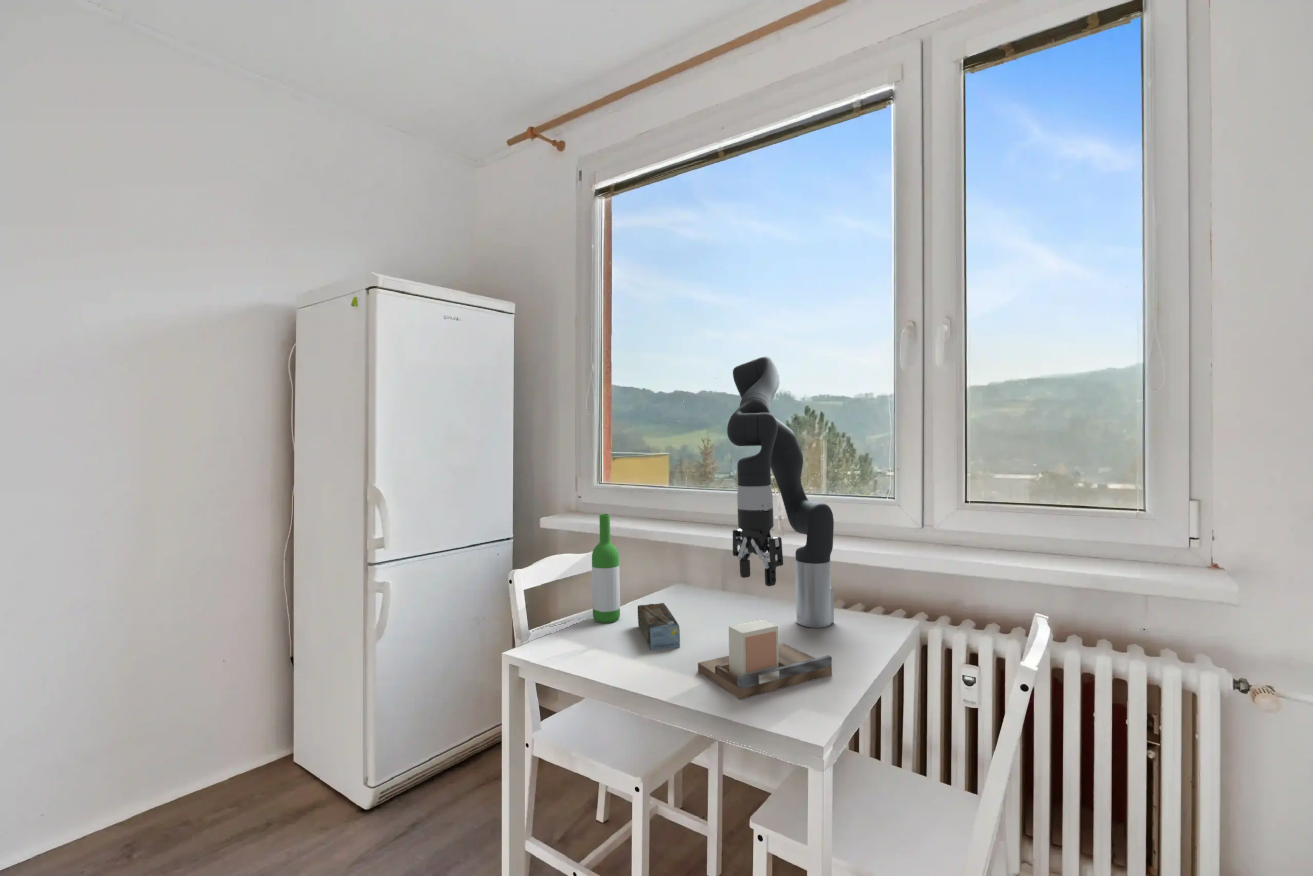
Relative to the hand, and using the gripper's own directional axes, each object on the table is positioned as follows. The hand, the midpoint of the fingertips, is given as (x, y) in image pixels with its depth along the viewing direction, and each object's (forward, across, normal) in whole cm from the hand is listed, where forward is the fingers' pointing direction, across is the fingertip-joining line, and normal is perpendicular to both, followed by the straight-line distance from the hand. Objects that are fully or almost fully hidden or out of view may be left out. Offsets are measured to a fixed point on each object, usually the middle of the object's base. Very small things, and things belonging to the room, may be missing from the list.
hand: (757, 581), depth 130 cm
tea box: (+18, +2, -3) cm, 19 cm away
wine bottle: (+21, -54, -12) cm, 59 cm away
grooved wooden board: (+21, -1, +2) cm, 21 cm away
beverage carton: (+21, -34, -6) cm, 41 cm away
